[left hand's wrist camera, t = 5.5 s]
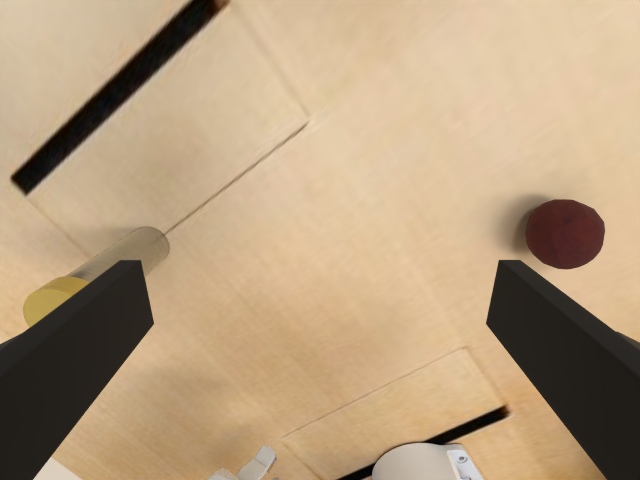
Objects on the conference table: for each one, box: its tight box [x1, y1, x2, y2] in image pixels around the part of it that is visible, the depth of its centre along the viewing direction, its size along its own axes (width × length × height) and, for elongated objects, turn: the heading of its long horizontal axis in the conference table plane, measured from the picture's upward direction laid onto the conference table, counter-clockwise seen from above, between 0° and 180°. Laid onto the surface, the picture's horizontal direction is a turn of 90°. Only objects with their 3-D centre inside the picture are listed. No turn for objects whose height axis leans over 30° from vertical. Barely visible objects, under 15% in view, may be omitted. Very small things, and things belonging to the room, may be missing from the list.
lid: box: [23, 276, 89, 327], centre depth 28 cm, size 5×5×2 cm
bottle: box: [65, 227, 169, 283], centre depth 35 cm, size 5×5×16 cm
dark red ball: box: [526, 200, 605, 269], centre depth 38 cm, size 7×8×7 cm
